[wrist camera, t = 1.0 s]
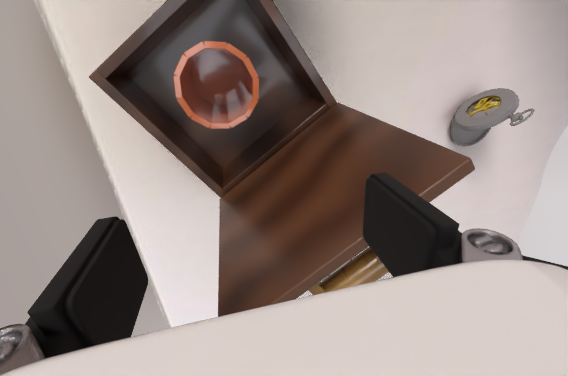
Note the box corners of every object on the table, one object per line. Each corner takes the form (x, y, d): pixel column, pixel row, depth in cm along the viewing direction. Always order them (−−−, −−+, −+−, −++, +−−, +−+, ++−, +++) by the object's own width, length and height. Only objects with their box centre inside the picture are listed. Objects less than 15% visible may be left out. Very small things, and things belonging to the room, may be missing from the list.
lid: (216, 343, 15) (274, 375, 17) (471, 157, 13) (497, 222, 15) (219, 198, 29) (250, 226, 32) (337, 102, 27) (361, 139, 30)
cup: (204, 31, 28) (196, 21, 19) (258, 67, 30) (273, 73, 22) (178, 88, 30) (160, 102, 21) (231, 118, 32) (235, 142, 23)
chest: (116, 72, 29) (88, 77, 23) (229, -37, 27) (232, -63, 21) (222, 174, 36) (222, 199, 30) (317, 95, 34) (338, 104, 28)
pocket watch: (473, 147, 42) (540, 172, 33) (430, 137, 40) (489, 161, 31) (502, 93, 39) (584, 104, 30) (457, 79, 37) (531, 86, 28)
